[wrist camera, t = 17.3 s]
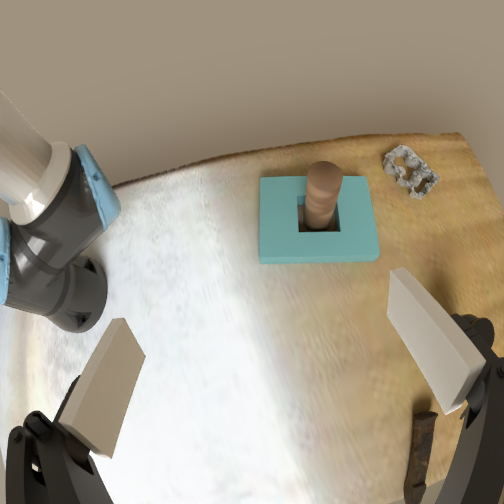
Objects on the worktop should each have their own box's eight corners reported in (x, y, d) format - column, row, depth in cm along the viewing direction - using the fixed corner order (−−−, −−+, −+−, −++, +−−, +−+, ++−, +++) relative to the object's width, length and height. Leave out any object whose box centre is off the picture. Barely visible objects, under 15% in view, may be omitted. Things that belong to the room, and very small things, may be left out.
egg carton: (376, 166, 47) (381, 152, 43) (398, 151, 47) (404, 138, 43) (415, 206, 43) (423, 194, 39) (435, 188, 43) (443, 176, 40)
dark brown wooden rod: (409, 413, 31) (421, 419, 27) (430, 408, 31) (443, 413, 26) (390, 505, 25) (398, 516, 20) (411, 500, 24) (420, 510, 20)
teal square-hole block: (261, 263, 42) (259, 257, 40) (261, 187, 47) (260, 177, 44) (374, 261, 40) (380, 254, 37) (362, 186, 45) (365, 176, 42)
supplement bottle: (418, 360, 34) (460, 360, 23) (426, 318, 36) (468, 304, 25) (450, 365, 32) (495, 364, 21) (457, 324, 34) (501, 312, 23)
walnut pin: (304, 234, 43) (309, 190, 31) (302, 210, 45) (305, 161, 33) (331, 234, 43) (345, 190, 31) (328, 210, 44) (340, 161, 32)
